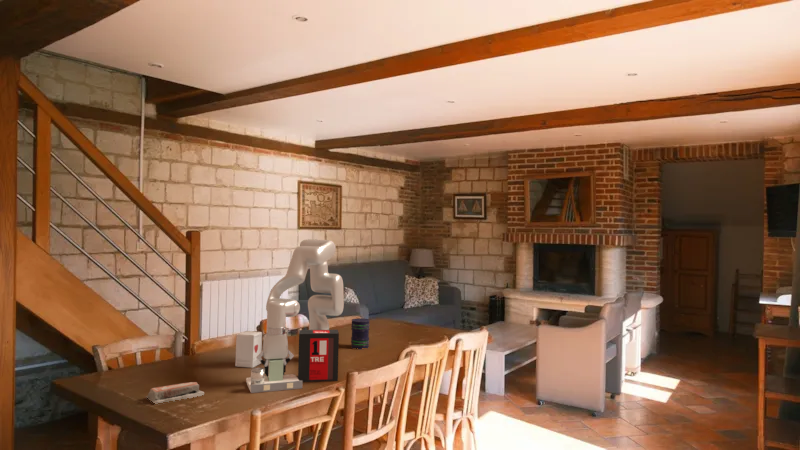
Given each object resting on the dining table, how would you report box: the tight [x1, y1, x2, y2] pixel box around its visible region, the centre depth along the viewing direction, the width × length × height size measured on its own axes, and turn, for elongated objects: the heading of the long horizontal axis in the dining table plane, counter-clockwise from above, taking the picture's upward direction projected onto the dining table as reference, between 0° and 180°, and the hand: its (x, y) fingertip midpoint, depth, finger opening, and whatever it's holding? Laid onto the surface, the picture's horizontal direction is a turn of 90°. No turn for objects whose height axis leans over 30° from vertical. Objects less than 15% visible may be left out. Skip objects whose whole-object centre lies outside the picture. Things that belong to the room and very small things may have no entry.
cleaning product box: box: [297, 329, 340, 383], centre depth 227 cm, size 16×9×20 cm, turn 100°
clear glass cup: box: [250, 367, 266, 385], centre depth 210 cm, size 5×5×6 cm
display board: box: [245, 373, 304, 394], centre depth 217 cm, size 20×17×3 cm
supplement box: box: [234, 330, 263, 369], centre depth 247 cm, size 9×9×15 cm
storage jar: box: [350, 317, 370, 350], centre depth 290 cm, size 10×10×15 cm
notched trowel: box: [145, 381, 205, 405], centre depth 199 cm, size 18×5×10 cm
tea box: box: [267, 359, 283, 381], centre depth 221 cm, size 7×6×8 cm
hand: (274, 374), depth 221 cm, fingers closed on tea box, 5 cm apart
